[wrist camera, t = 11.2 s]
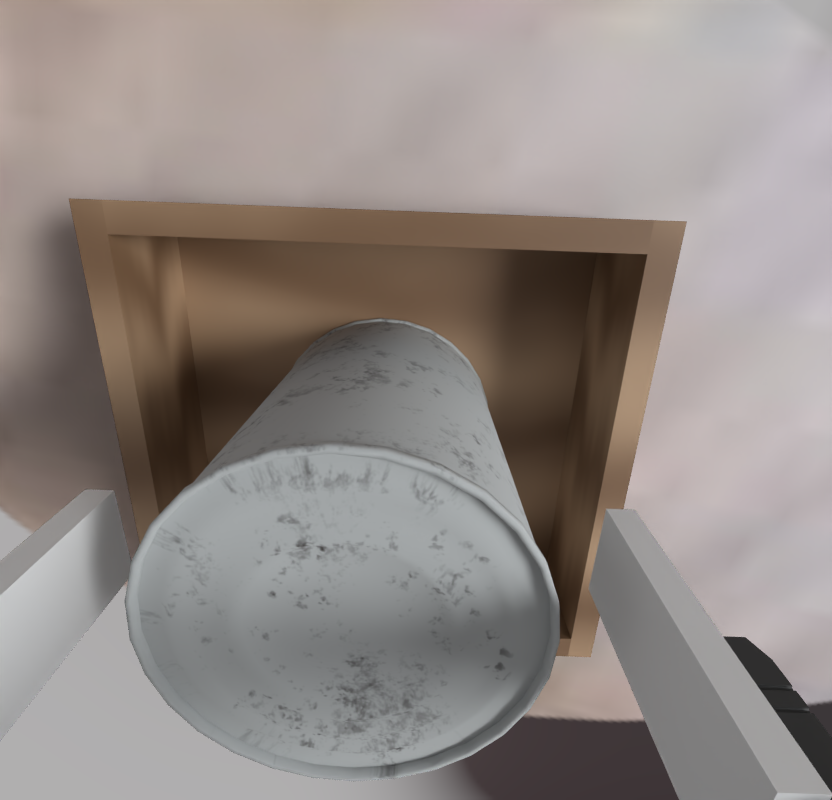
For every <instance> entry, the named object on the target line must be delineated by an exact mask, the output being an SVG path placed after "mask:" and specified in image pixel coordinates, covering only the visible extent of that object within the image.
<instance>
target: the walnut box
mask: <svg viewBox="0 0 832 800" xmlns="http://www.w3.org/2000/svg"><path fill="white" fill-rule="evenodd" d="M69 202H70V207H71V212H72V217H73V221H74V226H75V231H76V236H77V241H78V246H79V251H80V256H81V260H82V265H83V270H84V275H85V280H86V285H87V290H88V294H89V299H90V304H91V309H92V314H93V319H94V324H95V328H96V333H97V338H98V343H99V348H100V353H101V358H102V363H103V367H104V372H105V377H106V382H107V387H108V392H109V397H110V401H111V406H112V411H113V416H114V421H115V426H116V431H117V435H118V440H119V445H120V450H121V455H122V460H123V465H124V470H125V474H126V479H127V484H128V489H129V494H130V499H131V504H132V508H133V513H134V518H135V523H136V528H137V533H138V538H139V542H140V543H141V541H142V539H143V537H144V535H145V533H146V531H147V529H148V527H149V525H150V524H151V523H152V522H153V520H154V519H155V518H156V517H157V516H158V515H159V514H160V513H161V512H162V511H163V510H164V509H165V508H166V507H167V506H168V505H169V504H170V502H171V501H172V500H173V499H174V498H175V497H176V496H177V495H178V494H179V493H180V492H181V491H182V490H183V489H184V488H185V487H186V486H188V485H190V484H191V483H193V482H194V481H195V480H196V478H197V477H198V476H199V475H200V474H201V473H202V472H203V470H204V469H205V468H206V467H207V466H208V465H209V464H210V462H211V461H212V460H213V459H214V458H215V457H216V455H217V454H218V453H219V452H220V451H221V450H222V449H223V447H224V446H225V445H226V444H227V443H228V442H229V441H230V439H231V438H232V437H233V436H234V435H235V434H236V433H237V431H238V430H239V429H240V428H241V427H242V426H243V425H244V423H245V422H246V421H247V420H248V419H249V418H250V417H251V415H252V414H253V413H254V412H255V411H256V410H257V408H258V407H259V406H260V405H261V404H262V403H263V402H264V400H265V399H266V398H267V397H268V396H269V395H270V394H271V392H272V391H273V390H274V389H275V388H276V387H277V386H278V384H279V383H280V382H281V381H282V380H283V379H284V378H285V376H286V375H287V374H288V373H289V372H290V371H291V370H292V368H293V366H294V364H295V363H296V361H297V359H298V358H299V357H300V356H301V355H302V354H303V353H304V352H305V351H306V350H307V349H308V348H309V346H310V345H311V344H312V343H313V342H314V341H316V340H318V339H319V338H321V337H322V336H324V335H325V334H327V333H328V332H330V331H332V330H333V329H335V328H338V327H341V326H344V325H347V324H349V323H352V322H355V321H360V320H369V319H378V318H385V319H394V320H403V321H408V322H411V323H414V324H417V325H420V326H423V327H426V328H429V329H431V330H433V331H434V332H436V333H437V334H439V335H441V336H442V337H444V338H445V339H447V340H449V341H450V342H452V343H453V344H454V345H455V346H456V347H457V348H458V349H459V350H460V351H461V352H462V353H463V355H464V356H465V357H466V358H467V359H468V360H469V361H470V363H471V365H472V366H473V368H474V370H475V371H476V373H477V374H478V376H479V378H480V380H481V383H482V386H483V389H484V392H485V395H486V398H487V403H488V409H489V412H490V415H491V418H492V421H493V424H494V426H495V429H496V432H497V435H498V438H499V441H500V444H501V446H502V449H503V452H504V455H505V458H506V461H507V464H508V467H509V469H510V472H511V475H512V478H513V481H514V484H515V487H516V489H517V492H518V495H519V498H520V501H521V504H522V507H523V509H524V512H525V515H526V518H527V521H528V524H529V527H530V530H531V532H532V535H533V538H534V541H535V543H536V545H537V546H538V548H539V550H540V551H541V553H542V554H543V556H544V557H545V559H546V561H547V564H548V567H549V571H550V574H551V577H552V580H553V583H554V587H555V590H556V593H557V596H558V599H559V606H560V642H559V646H558V650H557V653H556V656H575V657H591V653H592V648H593V644H594V639H595V635H596V630H597V626H598V621H599V617H600V614H599V612H598V610H597V608H596V605H595V603H594V601H593V598H592V596H591V594H590V591H589V584H590V580H591V575H592V571H593V566H594V562H595V557H596V553H597V548H598V543H599V539H600V534H601V530H602V525H603V521H604V516H605V512H606V509H623V508H624V503H625V499H626V494H627V490H628V485H629V481H630V476H631V472H632V467H633V463H634V458H635V454H636V449H637V445H638V440H639V435H640V431H641V426H642V422H643V417H644V413H645V408H646V404H647V399H648V395H649V390H650V386H651V381H652V377H653V372H654V368H655V363H656V358H657V354H658V349H659V345H660V340H661V336H662V331H663V327H664V322H665V318H666V313H667V309H668V304H669V300H670V295H671V291H672V286H673V281H674V277H675V272H676V268H677V263H678V259H679V254H680V250H681V245H682V241H683V236H684V232H685V227H686V223H687V222H684V221H657V220H631V219H604V218H577V217H550V216H523V215H496V214H469V213H442V212H415V211H388V210H362V209H335V208H308V207H281V206H254V205H227V204H200V203H173V202H146V201H119V200H93V199H69Z"/></svg>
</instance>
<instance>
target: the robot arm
mask: <svg viewBox="0 0 832 800" xmlns="http://www.w3.org/2000/svg"><path fill="white" fill-rule="evenodd" d="M130 566H131V558H130V554H129V550H128V546H127V542H126V538H125V533H124V529H123V525H122V521H121V517H120V513H119V509H118V504H117V500H116V496H115V492H114V490H90V489H85V490H84V491H83V492H82V493H80V494H79V495H78V496H77V497H76V498H75V499H73V500H72V501H71V502H70V503H69V504H67V505H66V506H65V507H64V508H63V509H61V510H60V511H59V512H58V513H57V514H55V515H54V516H53V517H52V518H51V519H50V520H48V521H47V522H46V523H45V524H44V525H42V526H41V527H40V528H39V529H38V530H36V531H35V532H34V533H33V534H32V535H30V536H29V537H28V538H27V539H26V540H25V541H23V542H22V543H21V544H20V545H19V546H17V547H16V548H15V549H14V550H13V551H11V552H10V553H9V554H8V555H7V556H6V557H5V558H3V559H2V560H1V561H0V741H1V739H2V738H3V737H4V736H5V734H6V733H7V732H8V731H9V729H10V728H11V727H12V726H13V724H14V723H15V722H16V720H17V719H18V718H19V717H20V715H21V714H22V713H23V711H24V710H25V709H26V708H27V707H28V705H29V704H30V703H31V701H32V700H33V699H34V698H35V696H36V695H37V694H38V693H39V691H40V690H41V689H42V687H43V686H44V685H45V684H46V682H47V681H48V680H49V679H50V677H51V676H52V675H53V674H54V672H55V671H56V670H57V669H58V667H59V666H60V664H61V663H62V662H63V661H64V660H65V658H66V657H67V656H68V655H69V653H70V652H71V651H72V650H73V648H74V647H75V646H76V644H77V643H78V642H79V641H80V639H81V638H82V637H83V636H84V634H85V633H86V632H87V631H88V629H89V628H90V627H91V625H92V624H93V623H94V622H95V620H96V619H97V618H98V617H99V615H100V614H101V613H102V612H103V610H104V609H105V608H106V606H107V605H108V604H109V603H110V601H111V600H112V599H113V597H114V596H115V595H116V594H117V593H118V591H119V590H120V589H121V587H122V586H123V585H124V584H125V582H126V581H127V580H128V579H129V572H130ZM589 591H590V594H591V596H592V598H593V601H594V603H595V605H596V608H597V610H598V612H599V614H600V617H601V619H602V621H603V624H604V626H605V628H606V631H607V633H608V635H609V638H610V640H611V642H612V645H613V647H614V649H615V652H616V654H617V656H618V659H619V661H620V663H621V666H622V668H623V670H624V673H625V675H626V677H627V679H628V682H629V684H630V686H631V689H632V691H633V693H634V696H635V698H636V700H637V703H638V705H639V707H640V710H641V712H642V714H643V717H644V719H645V721H646V724H647V726H648V728H649V730H650V733H651V735H652V738H653V740H654V742H655V744H656V746H657V749H658V751H659V754H660V756H661V758H662V761H663V763H664V765H665V767H666V770H667V772H668V775H669V777H670V779H671V782H672V784H673V786H674V789H675V791H676V793H677V796H678V798H679V800H832V737H831V736H830V734H829V733H828V732H827V731H826V729H825V728H824V727H823V725H822V724H821V723H820V722H819V720H818V719H817V718H816V716H815V715H814V714H813V713H810V712H809V707H808V706H807V705H806V703H805V702H804V701H803V699H802V698H801V697H800V695H799V694H798V693H797V692H796V691H793V689H792V685H791V684H790V682H789V681H788V680H787V678H786V677H785V676H784V675H783V673H782V672H781V671H780V669H779V668H778V667H777V665H776V664H775V663H774V662H773V660H772V659H771V658H769V657H768V656H767V655H766V654H765V653H763V652H762V651H761V650H760V649H759V648H757V647H756V646H755V645H754V644H753V643H751V642H750V641H749V640H748V639H747V638H745V637H723V636H722V634H721V633H720V631H719V630H718V629H717V627H716V626H715V624H714V623H713V621H712V620H711V618H710V617H709V616H708V614H707V613H706V611H705V610H704V608H703V607H702V606H701V604H700V603H699V601H698V600H697V598H696V597H695V595H694V594H693V593H692V591H691V590H690V588H689V587H688V585H687V584H686V583H685V581H684V580H683V578H682V577H681V575H680V574H679V572H678V571H677V570H676V568H675V567H674V565H673V564H672V562H671V561H670V560H669V558H668V557H667V555H666V554H665V552H664V551H663V549H662V548H661V547H660V545H659V544H658V542H657V541H656V539H655V538H654V537H653V535H652V534H651V532H650V531H649V529H648V528H647V526H646V525H645V524H644V522H643V521H642V519H641V518H640V516H639V515H638V514H637V512H636V511H635V510H628V509H606V512H605V516H604V521H603V525H602V530H601V534H600V539H599V543H598V548H597V553H596V557H595V562H594V566H593V571H592V575H591V580H590V584H589Z"/></svg>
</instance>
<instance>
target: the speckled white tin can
mask: <svg viewBox="0 0 832 800" xmlns="http://www.w3.org/2000/svg"><path fill="white" fill-rule="evenodd" d="M125 607H126V614H127V622H128V630H129V637H130V641H131V643H132V645H133V647H134V650H135V652H136V655H137V657H138V659H139V662H140V664H141V666H142V669H143V671H144V673H145V675H146V676H147V677H148V679H149V680H150V681H151V683H152V684H153V685H154V687H155V688H156V689H157V691H158V692H159V693H160V695H161V696H162V697H163V699H164V700H165V701H166V703H167V704H168V705H169V706H170V707H171V708H172V709H173V710H175V711H176V712H177V713H178V714H179V715H180V716H181V717H182V718H184V719H185V720H186V721H187V722H188V723H189V724H190V725H191V726H193V727H194V728H195V729H196V730H197V731H198V732H200V733H202V734H203V735H205V736H207V737H208V738H210V739H211V740H213V741H215V742H217V743H218V744H220V745H221V746H223V747H225V748H226V749H228V750H230V751H231V752H233V753H236V754H238V755H240V756H243V757H245V758H248V759H250V760H253V761H255V762H258V763H260V764H263V765H265V766H268V767H270V768H274V769H278V770H283V771H286V772H291V773H295V774H299V775H303V776H307V777H312V778H323V779H334V780H346V781H365V780H381V779H395V778H400V777H405V776H409V775H413V774H419V773H423V772H428V771H432V770H436V769H438V768H441V767H443V766H446V765H448V764H451V763H453V762H456V761H458V760H461V759H463V758H466V757H468V756H471V755H473V754H474V753H475V752H477V751H479V750H480V749H482V748H483V747H485V746H487V745H488V744H490V743H491V742H493V741H495V740H496V739H498V738H499V737H501V736H502V735H504V734H505V733H506V732H507V731H508V730H509V729H510V728H511V727H512V726H513V725H514V724H515V723H516V722H517V721H518V720H519V719H520V718H521V717H522V716H523V715H524V714H525V713H526V712H527V711H528V710H529V709H530V708H531V707H532V705H533V703H534V702H535V700H536V699H537V697H538V695H539V694H540V692H541V690H542V689H543V687H544V686H545V684H546V682H547V681H548V679H549V677H550V674H551V670H552V667H553V663H554V660H555V656H556V653H557V650H558V646H559V642H560V606H559V599H558V596H557V593H556V590H555V587H554V583H553V580H552V577H551V574H550V571H549V567H548V564H547V561H546V559H545V557H544V556H543V554H542V553H541V551H540V550H539V548H538V546H537V545H536V543H535V541H534V538H533V535H532V532H531V530H530V527H529V524H528V521H527V518H526V515H525V512H524V509H523V507H522V504H521V501H520V498H519V495H518V492H517V489H516V487H515V484H514V481H513V478H512V475H511V472H510V469H509V467H508V464H507V461H506V458H505V455H504V452H503V449H502V446H501V444H500V441H499V438H498V435H497V432H496V429H495V426H494V424H493V421H492V418H491V415H490V412H489V409H488V403H487V398H486V395H485V392H484V389H483V386H482V383H481V380H480V378H479V376H478V374H477V373H476V371H475V370H474V368H473V366H472V365H471V363H470V361H469V360H468V359H467V358H466V357H465V356H464V355H463V353H462V352H461V351H460V350H459V349H458V348H457V347H456V346H455V345H454V344H453V343H452V342H450V341H449V340H447V339H445V338H444V337H442V336H441V335H439V334H437V333H436V332H434V331H433V330H431V329H429V328H426V327H423V326H420V325H417V324H414V323H411V322H408V321H403V320H394V319H385V318H378V319H369V320H360V321H355V322H352V323H349V324H347V325H344V326H341V327H338V328H335V329H333V330H332V331H330V332H328V333H327V334H325V335H324V336H322V337H321V338H319V339H318V340H316V341H314V342H313V343H312V344H311V345H310V346H309V348H308V349H307V350H306V351H305V352H304V353H303V354H302V355H301V356H300V357H299V358H298V359H297V361H296V363H295V364H294V366H293V368H292V370H291V371H290V372H289V373H288V374H287V375H286V376H285V378H284V379H283V380H282V381H281V382H280V383H279V384H278V386H277V387H276V388H275V389H274V390H273V391H272V392H271V394H270V395H269V396H268V397H267V398H266V399H265V400H264V402H263V403H262V404H261V405H260V406H259V407H258V408H257V410H256V411H255V412H254V413H253V414H252V415H251V417H250V418H249V419H248V420H247V421H246V422H245V423H244V425H243V426H242V427H241V428H240V429H239V430H238V431H237V433H236V434H235V435H234V436H233V437H232V438H231V439H230V441H229V442H228V443H227V444H226V445H225V446H224V447H223V449H222V450H221V451H220V452H219V453H218V454H217V455H216V457H215V458H214V459H213V460H212V461H211V462H210V464H209V465H208V466H207V467H206V468H205V469H204V470H203V472H202V473H201V474H200V475H199V476H198V477H197V478H196V480H195V481H194V482H193V483H191V484H190V485H188V486H186V487H185V488H184V489H183V490H182V491H181V492H180V493H179V494H178V495H177V496H176V497H175V498H174V499H173V500H172V501H171V502H170V504H169V505H168V506H167V507H166V508H165V509H164V510H163V511H162V512H161V513H160V514H159V515H158V516H157V517H156V518H155V519H154V520H153V522H152V523H151V524H150V525H149V527H148V529H147V531H146V533H145V535H144V537H143V539H142V541H141V543H140V545H139V547H138V549H137V551H136V553H135V555H134V557H133V559H132V561H131V566H130V572H129V579H128V585H127V591H126V597H125Z"/></svg>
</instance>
